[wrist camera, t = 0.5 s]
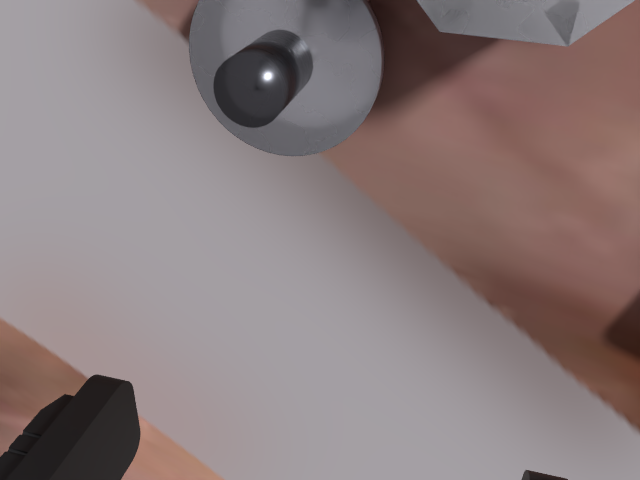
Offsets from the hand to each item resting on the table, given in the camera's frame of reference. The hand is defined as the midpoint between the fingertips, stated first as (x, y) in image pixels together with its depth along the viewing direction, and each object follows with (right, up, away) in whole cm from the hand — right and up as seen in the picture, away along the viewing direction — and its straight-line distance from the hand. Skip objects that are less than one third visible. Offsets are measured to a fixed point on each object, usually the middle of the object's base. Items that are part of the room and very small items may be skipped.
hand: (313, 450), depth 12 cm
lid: (-1, +14, +20) cm, 25 cm away
